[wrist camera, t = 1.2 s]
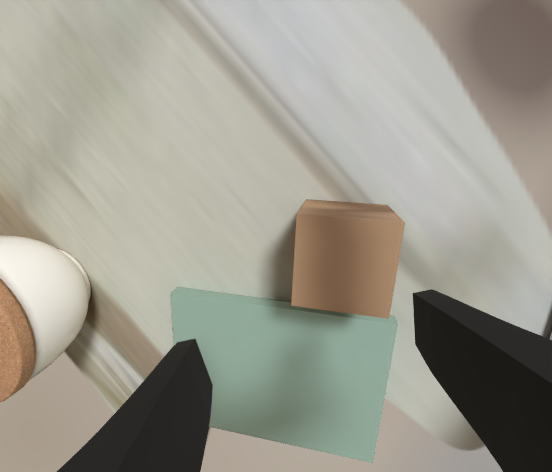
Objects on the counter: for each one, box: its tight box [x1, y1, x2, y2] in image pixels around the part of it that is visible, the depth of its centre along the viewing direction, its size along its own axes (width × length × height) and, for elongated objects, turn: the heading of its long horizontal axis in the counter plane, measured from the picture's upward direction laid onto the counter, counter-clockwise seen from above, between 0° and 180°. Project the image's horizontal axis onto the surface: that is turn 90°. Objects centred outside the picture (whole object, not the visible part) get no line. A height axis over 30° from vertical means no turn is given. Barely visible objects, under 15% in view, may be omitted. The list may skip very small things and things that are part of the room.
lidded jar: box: [0, 236, 91, 402], centre depth 20 cm, size 11×11×9 cm
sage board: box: [171, 287, 397, 463], centre depth 22 cm, size 16×12×1 cm
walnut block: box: [291, 199, 405, 319], centre depth 17 cm, size 5×5×5 cm
